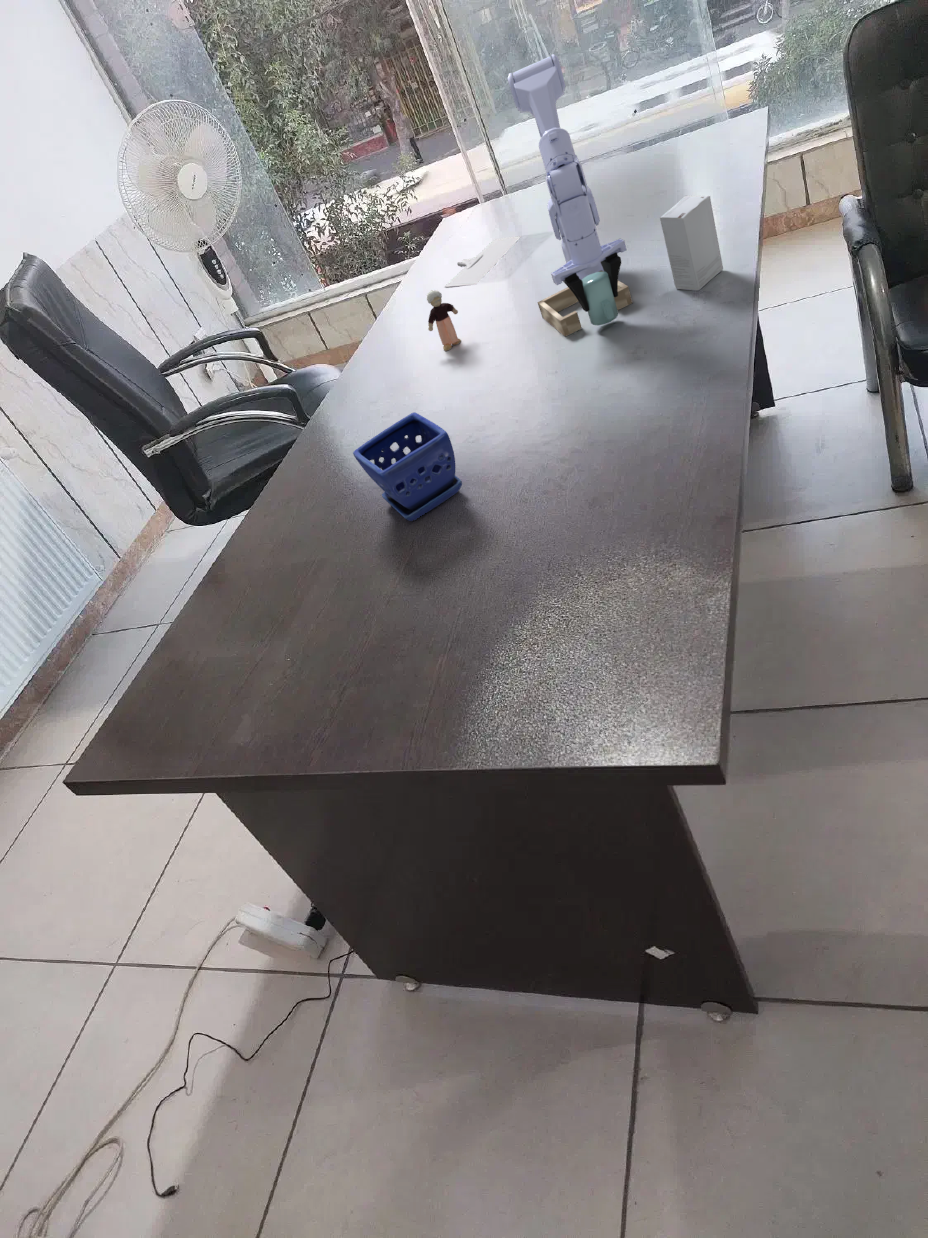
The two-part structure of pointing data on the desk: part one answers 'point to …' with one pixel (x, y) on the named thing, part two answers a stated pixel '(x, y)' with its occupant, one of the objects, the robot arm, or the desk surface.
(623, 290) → the cradle
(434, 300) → the grandmother figurine
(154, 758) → the desk surface
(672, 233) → the skincare box
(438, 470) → the flower pot
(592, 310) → the teal cylinder with tab
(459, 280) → the white flat panel
